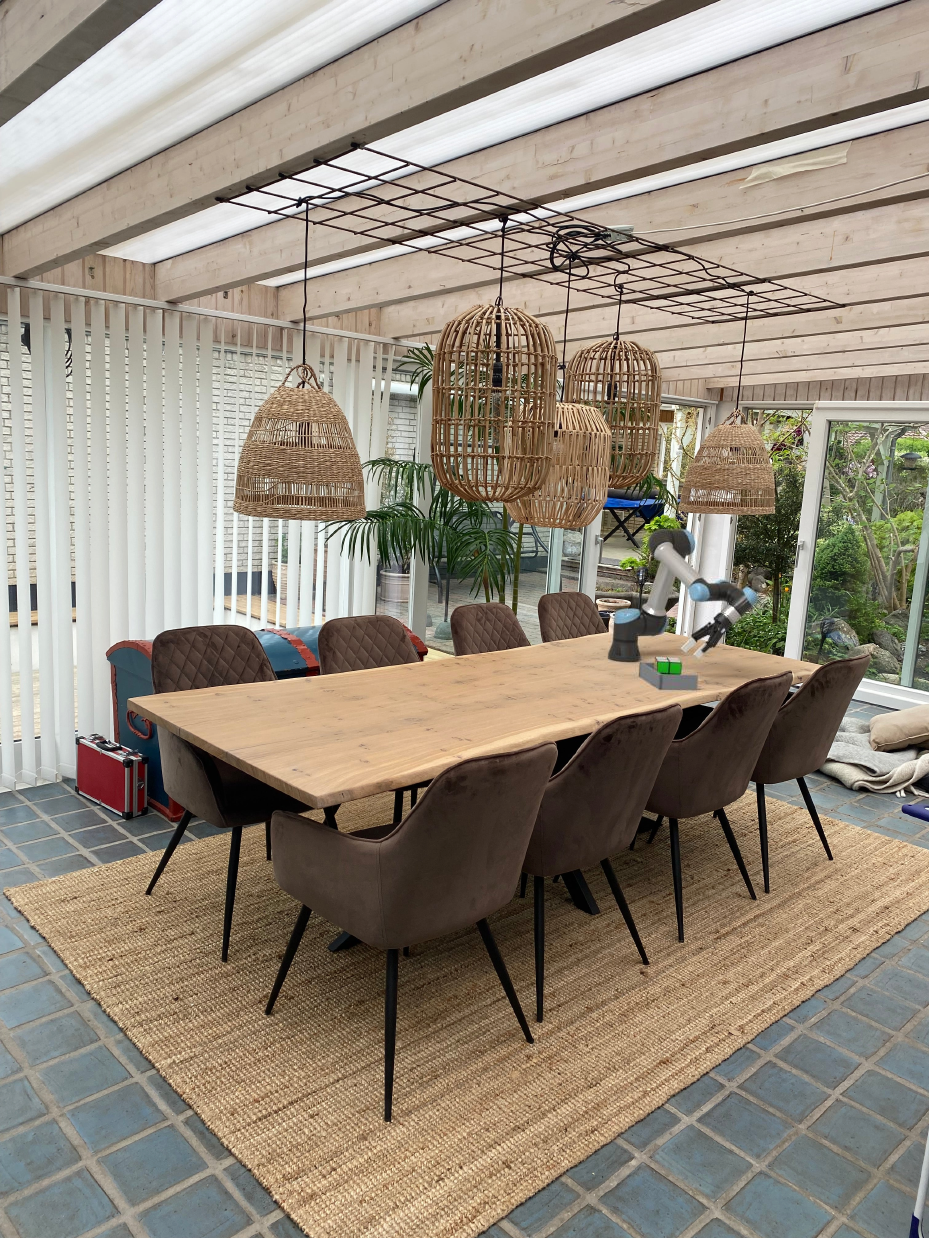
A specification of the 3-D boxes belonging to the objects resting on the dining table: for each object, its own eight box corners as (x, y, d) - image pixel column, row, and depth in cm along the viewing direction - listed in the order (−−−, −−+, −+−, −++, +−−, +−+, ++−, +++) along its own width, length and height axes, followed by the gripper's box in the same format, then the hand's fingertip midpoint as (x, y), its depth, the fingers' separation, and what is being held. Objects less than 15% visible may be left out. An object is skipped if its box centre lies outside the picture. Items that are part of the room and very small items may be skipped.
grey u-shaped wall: (638, 676, 381) (639, 662, 380) (673, 676, 383) (674, 662, 382) (659, 689, 356) (660, 675, 355) (696, 690, 358) (697, 675, 358)
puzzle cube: (677, 681, 374) (678, 658, 373) (680, 686, 364) (682, 662, 363) (652, 679, 375) (654, 656, 374) (655, 685, 365) (657, 661, 364)
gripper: (745, 629, 357) (707, 666, 357) (719, 620, 381) (683, 654, 381) (733, 616, 355) (695, 652, 355) (708, 607, 380) (672, 642, 380)
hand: (689, 653), depth 368 cm, fingers open, 13 cm apart
